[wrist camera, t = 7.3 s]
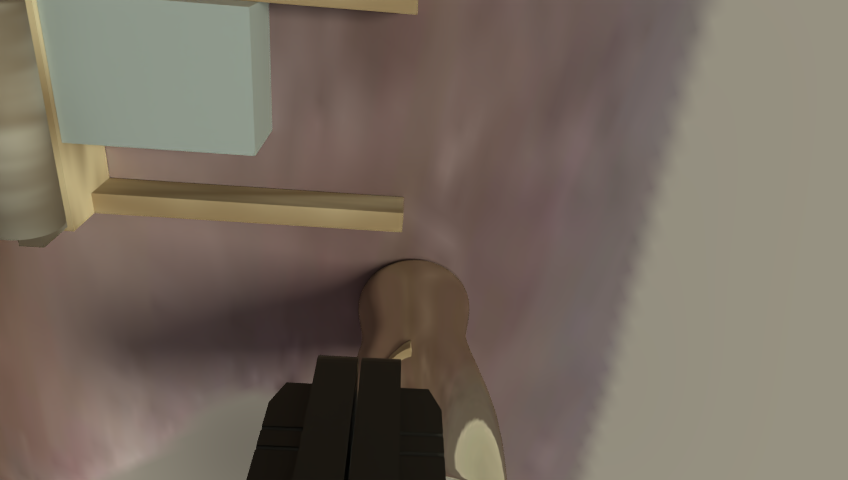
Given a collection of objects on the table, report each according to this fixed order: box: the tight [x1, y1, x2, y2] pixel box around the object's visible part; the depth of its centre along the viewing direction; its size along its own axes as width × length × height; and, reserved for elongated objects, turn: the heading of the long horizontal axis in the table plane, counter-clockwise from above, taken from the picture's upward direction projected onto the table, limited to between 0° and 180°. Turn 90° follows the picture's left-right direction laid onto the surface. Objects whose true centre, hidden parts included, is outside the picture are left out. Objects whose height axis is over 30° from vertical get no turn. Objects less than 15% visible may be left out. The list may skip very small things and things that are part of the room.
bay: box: [0, 0, 418, 247], centre depth 26 cm, size 11×17×7 cm, turn 86°
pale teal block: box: [37, 0, 272, 156], centre depth 27 cm, size 6×8×4 cm
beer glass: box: [357, 260, 507, 480], centre depth 28 cm, size 7×7×15 cm
